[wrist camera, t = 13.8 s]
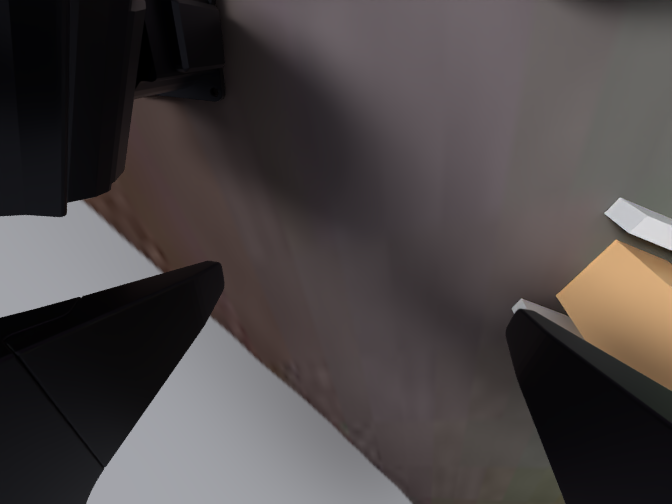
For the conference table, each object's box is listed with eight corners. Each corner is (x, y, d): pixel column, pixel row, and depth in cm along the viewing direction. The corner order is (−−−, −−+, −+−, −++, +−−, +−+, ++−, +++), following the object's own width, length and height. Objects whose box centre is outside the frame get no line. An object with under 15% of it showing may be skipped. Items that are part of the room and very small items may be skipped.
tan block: (555, 295, 24) (672, 473, 14) (615, 239, 21) (819, 416, 11) (601, 313, 24) (746, 499, 14) (667, 260, 21) (911, 452, 11)
